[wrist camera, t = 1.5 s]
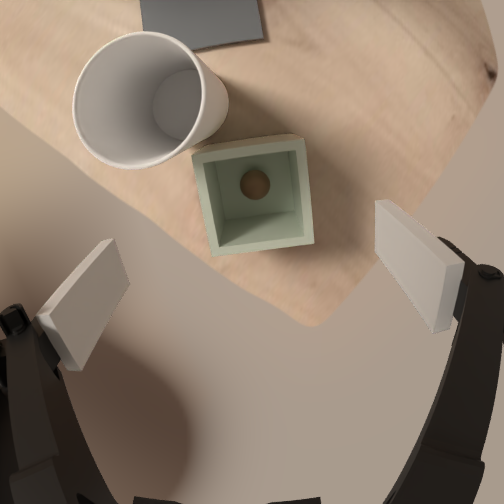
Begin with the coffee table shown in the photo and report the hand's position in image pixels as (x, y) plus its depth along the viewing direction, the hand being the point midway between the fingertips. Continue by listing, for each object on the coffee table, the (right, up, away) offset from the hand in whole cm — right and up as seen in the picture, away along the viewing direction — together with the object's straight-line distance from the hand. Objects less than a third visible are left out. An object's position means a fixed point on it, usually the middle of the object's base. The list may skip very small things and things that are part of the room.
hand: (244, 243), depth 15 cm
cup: (-6, +15, +14) cm, 21 cm away
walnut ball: (+1, +7, +17) cm, 18 cm away
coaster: (-5, +26, +9) cm, 28 cm away
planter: (+1, +7, +18) cm, 19 cm away
